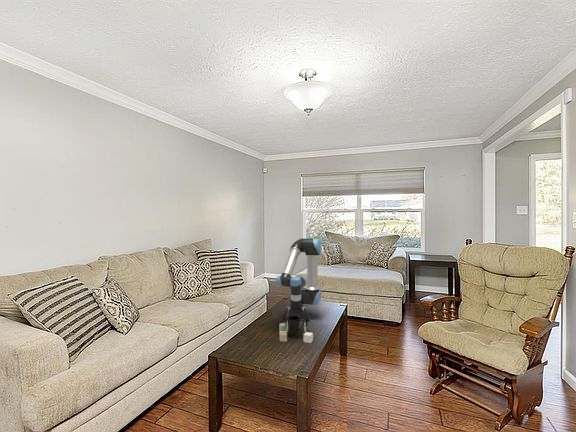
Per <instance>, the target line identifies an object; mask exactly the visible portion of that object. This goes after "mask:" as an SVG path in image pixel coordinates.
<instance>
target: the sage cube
mask: <svg viewBox="0 0 576 432" xmlns="http://www.w3.org/2000/svg"><path fill="white" fill-rule="evenodd" d="M278 327H279V329H278V330H279V332H280V331H287V326H286V325H285V322H282V323H281V322H280V323H279V325H278ZM288 332H289V330H288V331H287V333H288Z"/></svg>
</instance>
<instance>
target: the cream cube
mask: <svg viewBox="0 0 576 432" xmlns="http://www.w3.org/2000/svg"><path fill="white" fill-rule="evenodd" d="M304 332H305V331H304ZM313 340H314V333H313V332H308V331H306V332H305V333H303V343H307V344H311V343H312V342H313Z"/></svg>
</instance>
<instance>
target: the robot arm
mask: <svg viewBox="0 0 576 432" xmlns="http://www.w3.org/2000/svg"><path fill="white" fill-rule="evenodd" d="M322 250H323V246H322V242H321V240H320V239H318V238H304V237H303V238H299V239H297V240H295V241H294V243H292V245H290V248H289V254H288V256H287V260H286V262H285V264H284V267H283V269H282V272H281V275H277V276H276V278H275V284H276V286H277V287H286V288H290V289H289V294H288V295H289V297H288V299H289V302H288V303H289V306H288V305H287V306H286V308H285V309H286V310H285V312H284V315H283V317H282V321H284V323H285V325H286V326H287V331H288V332H289V325H288V319H289V317H290V316H298V317H299V318H300V319H302V320H304V325H303V326H304V332H307V327H308V323H309V322H311V318H310V316H309V313H308V310H307V307H306V306H304V305H310V306H311V305H312V306H318V305H319V304H321V301H322V296H323V295H322V291H321V290H320V288H319V286H318V257H319V256H320V254H322ZM302 253H304V254H305V256H306V266H307V267H306V277H305V276H292V274H293V273H294V269H295V267H296V264H297V261H298V258H299V256H301V255H302ZM304 287H305V288H304Z"/></svg>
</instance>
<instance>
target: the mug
mask: <svg viewBox="0 0 576 432" xmlns="http://www.w3.org/2000/svg"><path fill="white" fill-rule="evenodd" d="M300 322H302V325H301V324H300ZM304 322H305V320H304V319H301V318H299V317H298V316H290V317H289V319H288V330H289V331H290V333H292V334H293V333H294V334H296V333H298V332H300V331H301V330H302V328H303V326H304ZM300 325H301V327H300Z"/></svg>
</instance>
